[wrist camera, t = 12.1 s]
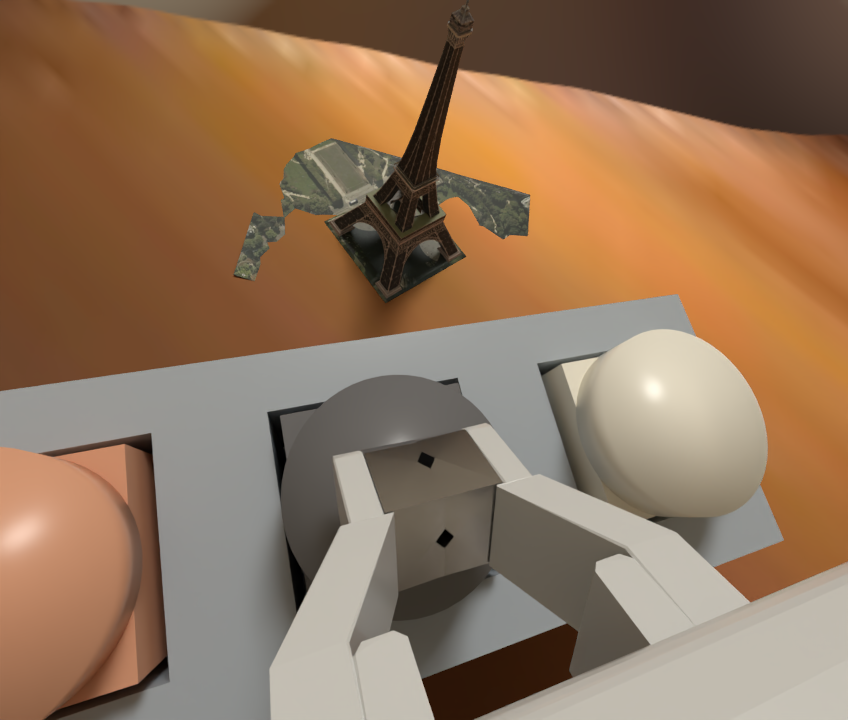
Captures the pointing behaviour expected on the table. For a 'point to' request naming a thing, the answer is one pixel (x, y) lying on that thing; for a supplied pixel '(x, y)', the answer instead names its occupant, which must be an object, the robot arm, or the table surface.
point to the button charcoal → (354, 431)
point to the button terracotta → (77, 577)
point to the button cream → (660, 427)
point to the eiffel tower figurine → (391, 195)
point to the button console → (262, 479)
